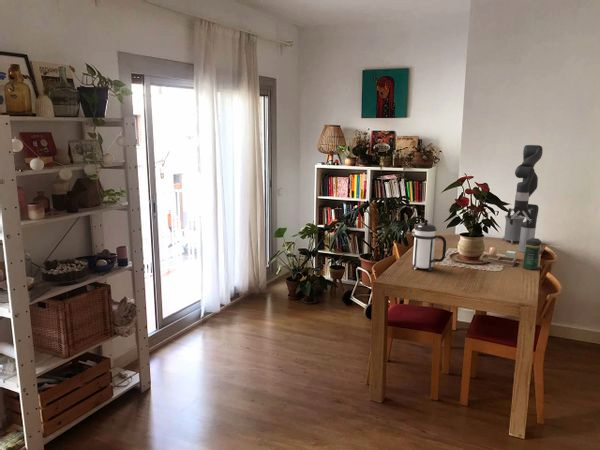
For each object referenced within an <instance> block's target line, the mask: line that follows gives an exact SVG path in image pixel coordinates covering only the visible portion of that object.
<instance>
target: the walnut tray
mask: <svg viewBox="0 0 600 450" xmlns="http://www.w3.org/2000/svg"><path fill="white" fill-rule="evenodd" d="M487 257H488V258H487ZM479 259H480V260H483V261H488V262H490V263H489V264H493V263H494V264H495V265H499V264H502V265H501V266H508V267H511V268H512V267H514V266H515V264H516V262H517V258H516V257H515V258H508V257H506V256H501V255H496V256H495V255H489V253H483V254H482V255H481V256H480V257H479ZM494 264H493V265H494Z"/></svg>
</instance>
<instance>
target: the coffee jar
mask: <svg viewBox="0 0 600 450" xmlns="http://www.w3.org/2000/svg"><path fill="white" fill-rule="evenodd" d="M541 244H542V241H541V240H540V238H536V237H535V238H531V239H528V240H526V246H525V252H524V253H523V254H524V255H523V261H522V262H523V263H522V268H523V269H526V270H529V269H530V270H534V271H535V270H536V269H538V267H539V258H540V252H541Z"/></svg>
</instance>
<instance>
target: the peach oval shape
mask: <svg viewBox="0 0 600 450" xmlns="http://www.w3.org/2000/svg"><path fill="white" fill-rule="evenodd" d="M488 254H489V255H495V256H498V255H497V254H498V247H495V246H490V247H489V253H488Z"/></svg>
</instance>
